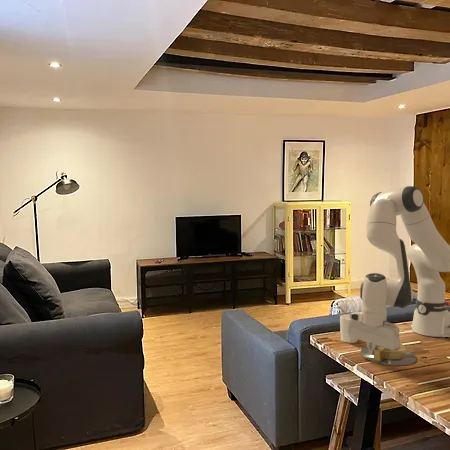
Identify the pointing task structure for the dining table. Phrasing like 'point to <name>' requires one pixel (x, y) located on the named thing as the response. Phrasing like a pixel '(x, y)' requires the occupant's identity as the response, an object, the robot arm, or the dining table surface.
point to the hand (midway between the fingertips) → (372, 354)
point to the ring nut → (389, 353)
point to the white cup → (345, 329)
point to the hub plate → (407, 360)
